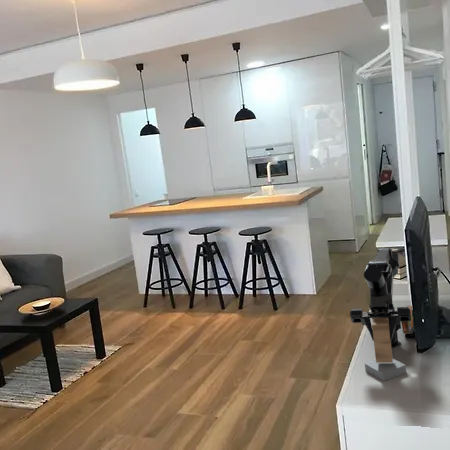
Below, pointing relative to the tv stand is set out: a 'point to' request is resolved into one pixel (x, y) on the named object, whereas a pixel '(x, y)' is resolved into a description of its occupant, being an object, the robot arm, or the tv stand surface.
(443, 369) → the tv stand surface
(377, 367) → the grey block
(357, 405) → the tv stand surface
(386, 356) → the walnut block
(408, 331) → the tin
